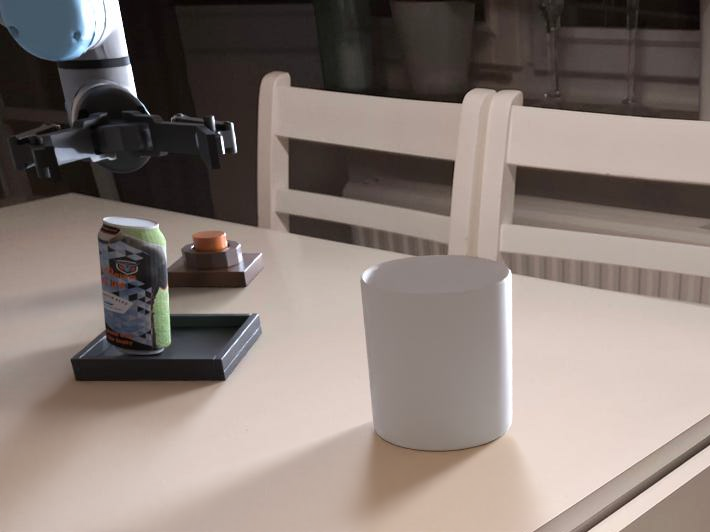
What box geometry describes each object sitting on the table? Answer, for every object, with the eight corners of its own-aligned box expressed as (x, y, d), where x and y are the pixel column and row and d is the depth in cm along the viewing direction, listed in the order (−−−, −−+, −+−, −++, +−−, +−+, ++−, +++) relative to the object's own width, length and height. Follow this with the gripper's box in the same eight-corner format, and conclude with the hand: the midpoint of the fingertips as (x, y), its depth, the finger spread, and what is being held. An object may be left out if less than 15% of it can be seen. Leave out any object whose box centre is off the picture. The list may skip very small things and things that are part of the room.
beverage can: (101, 350, 100) (69, 218, 93) (171, 336, 103) (145, 207, 96) (123, 366, 96) (91, 229, 89) (196, 351, 99) (170, 218, 92)
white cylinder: (409, 393, 91) (399, 250, 84) (530, 407, 87) (532, 259, 80) (349, 441, 82) (333, 287, 75) (482, 459, 79) (478, 299, 72)
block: (165, 287, 122) (159, 255, 119) (187, 267, 129) (181, 238, 126) (246, 286, 121) (241, 255, 119) (264, 267, 128) (259, 237, 126)
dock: (75, 380, 96) (69, 359, 95) (127, 333, 107) (123, 313, 106) (225, 380, 95) (221, 359, 94) (262, 332, 106) (259, 313, 105)
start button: (190, 254, 121) (187, 238, 120) (200, 246, 125) (197, 230, 123) (222, 253, 121) (220, 238, 120) (231, 245, 124) (229, 230, 123)
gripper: (240, 158, 109) (282, 193, 93) (-5, 178, 102) (-4, 219, 86) (228, 76, 104) (270, 98, 89) (-29, 91, 97) (-33, 118, 82)
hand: (135, 158), depth 88 cm, fingers open, 13 cm apart
